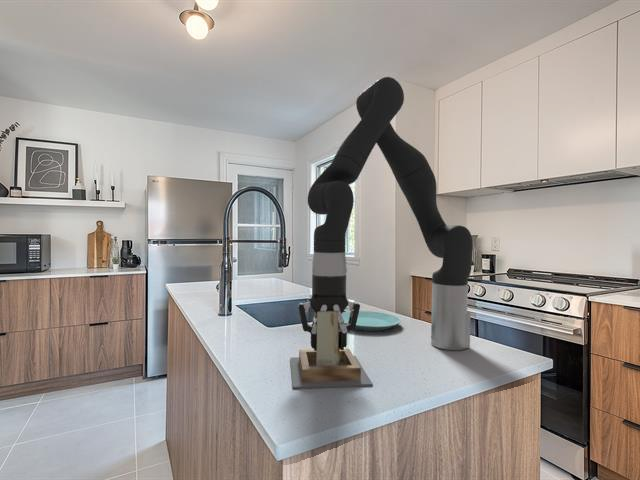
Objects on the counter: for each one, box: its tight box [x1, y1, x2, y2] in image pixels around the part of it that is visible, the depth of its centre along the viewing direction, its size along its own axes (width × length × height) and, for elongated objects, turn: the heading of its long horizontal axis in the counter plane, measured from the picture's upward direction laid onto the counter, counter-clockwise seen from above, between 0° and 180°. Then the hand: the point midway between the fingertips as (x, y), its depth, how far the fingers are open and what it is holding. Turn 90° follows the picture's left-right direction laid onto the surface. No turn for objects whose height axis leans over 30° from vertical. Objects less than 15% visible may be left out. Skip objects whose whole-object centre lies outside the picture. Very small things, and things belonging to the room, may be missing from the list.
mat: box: [289, 355, 374, 390], centre depth 75 cm, size 16×16×1 cm
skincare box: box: [316, 311, 340, 367], centre depth 75 cm, size 6×4×12 cm
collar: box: [298, 348, 361, 382], centre depth 75 cm, size 12×12×2 cm
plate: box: [342, 310, 402, 332], centre depth 114 cm, size 22×22×3 cm
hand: (328, 349), depth 75 cm, fingers closed on skincare box, 5 cm apart
